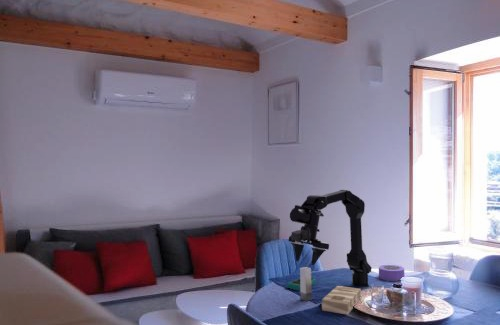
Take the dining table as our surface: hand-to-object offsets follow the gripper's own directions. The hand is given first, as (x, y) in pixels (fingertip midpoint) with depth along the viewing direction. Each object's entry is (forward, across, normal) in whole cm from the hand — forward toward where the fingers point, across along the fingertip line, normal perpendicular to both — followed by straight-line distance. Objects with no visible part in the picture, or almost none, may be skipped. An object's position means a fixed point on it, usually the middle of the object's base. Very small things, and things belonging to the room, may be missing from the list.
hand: (304, 263), depth 173 cm
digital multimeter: (+12, -16, +16) cm, 26 cm away
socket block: (+13, +12, +12) cm, 21 cm away
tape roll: (+1, +2, +57) cm, 57 cm away
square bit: (+15, -1, +5) cm, 16 cm away
